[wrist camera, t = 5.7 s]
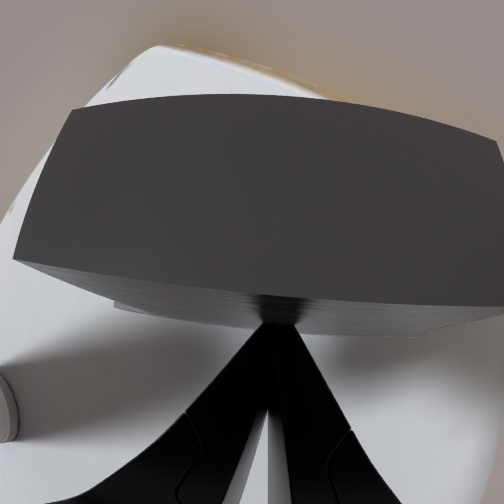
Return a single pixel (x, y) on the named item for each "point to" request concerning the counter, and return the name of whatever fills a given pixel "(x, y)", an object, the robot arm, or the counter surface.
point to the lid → (273, 214)
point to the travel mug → (7, 413)
